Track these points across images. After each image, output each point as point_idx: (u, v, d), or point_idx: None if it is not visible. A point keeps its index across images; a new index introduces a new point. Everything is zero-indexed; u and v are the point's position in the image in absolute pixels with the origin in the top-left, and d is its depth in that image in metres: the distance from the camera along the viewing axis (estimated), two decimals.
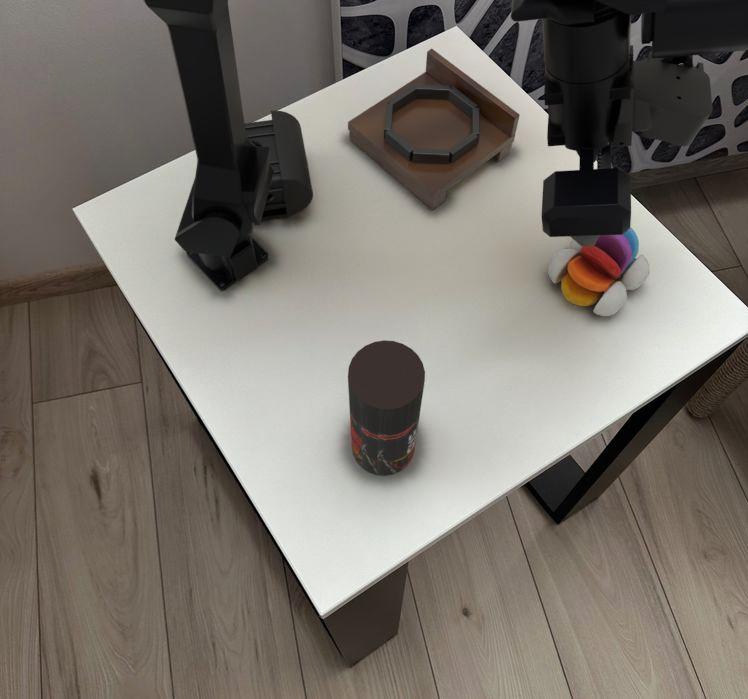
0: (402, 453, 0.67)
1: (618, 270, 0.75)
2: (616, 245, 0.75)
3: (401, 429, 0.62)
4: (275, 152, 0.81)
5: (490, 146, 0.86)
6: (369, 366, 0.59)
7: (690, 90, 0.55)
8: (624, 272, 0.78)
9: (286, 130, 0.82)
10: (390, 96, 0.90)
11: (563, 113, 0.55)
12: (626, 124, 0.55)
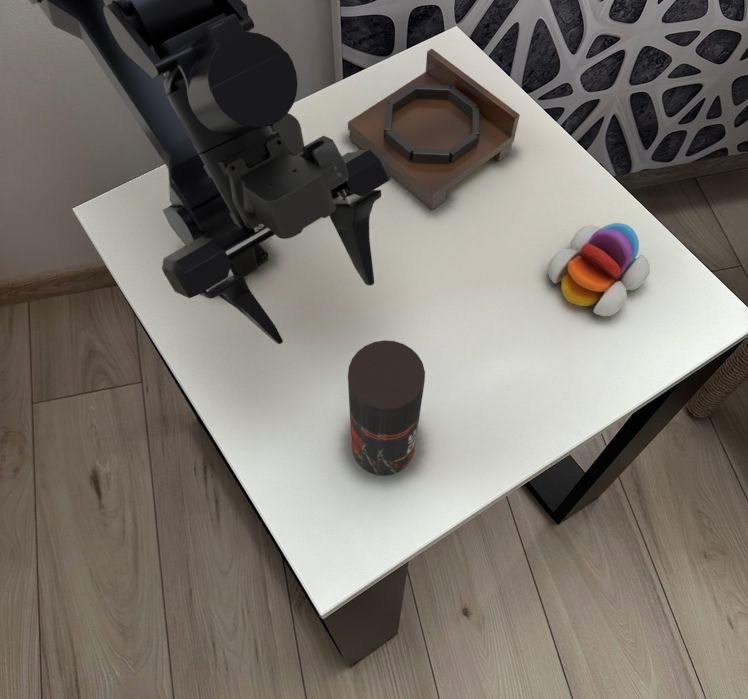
0: (402, 453, 0.67)
1: (618, 270, 0.75)
2: (616, 245, 0.75)
3: (401, 429, 0.62)
4: None
5: (490, 146, 0.86)
6: (369, 366, 0.59)
7: (288, 181, 0.53)
8: (624, 272, 0.78)
9: (286, 130, 0.82)
10: (390, 96, 0.90)
11: None
12: (236, 202, 0.56)
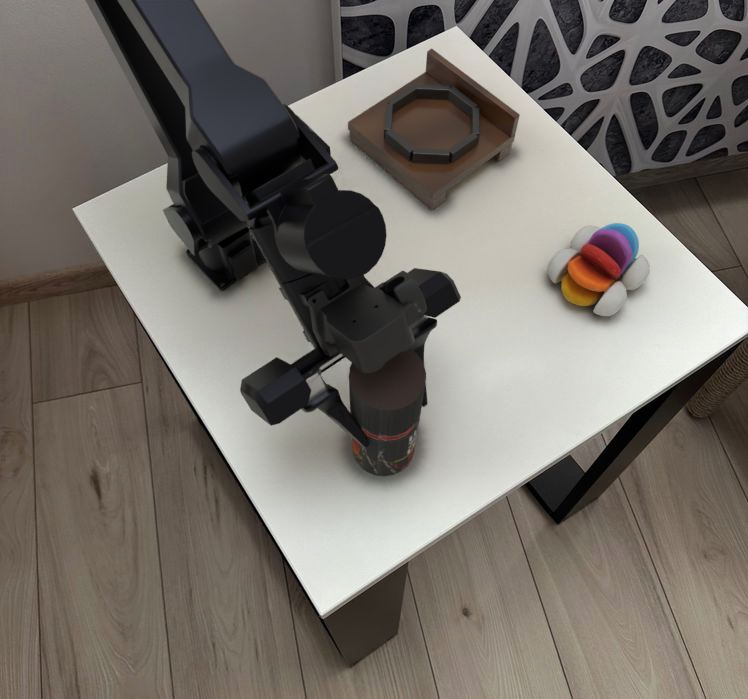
0: (402, 454, 0.67)
1: (618, 270, 0.75)
2: (616, 245, 0.75)
3: (402, 430, 0.62)
4: None
5: (490, 146, 0.86)
6: None
7: (370, 319, 0.54)
8: (624, 272, 0.78)
9: None
10: (390, 96, 0.90)
11: None
12: (316, 332, 0.58)
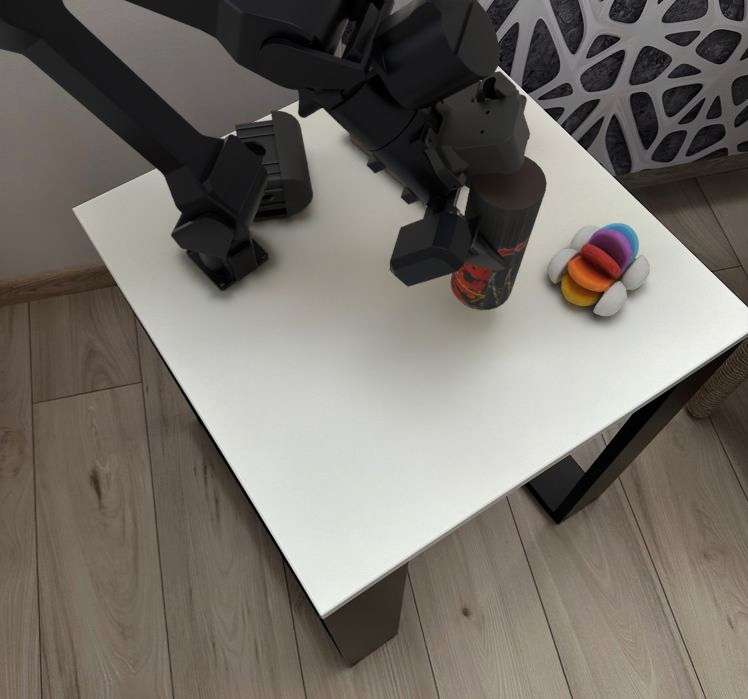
0: (519, 266, 0.70)
1: (618, 270, 0.75)
2: (616, 245, 0.75)
3: (531, 230, 0.64)
4: (275, 152, 0.81)
5: None
6: (491, 182, 0.61)
7: (495, 121, 0.56)
8: (624, 272, 0.78)
9: (286, 130, 0.82)
10: None
11: (394, 175, 0.60)
12: (442, 170, 0.58)
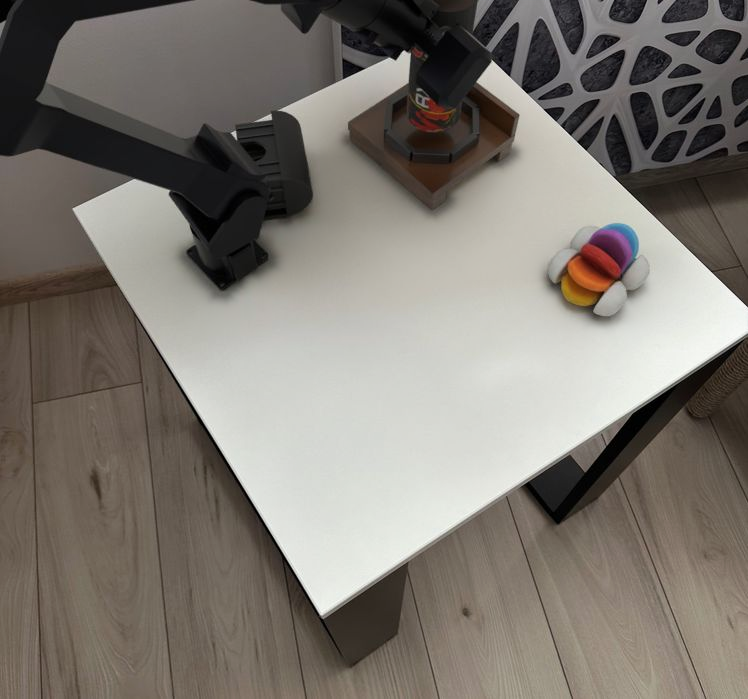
0: None
1: (618, 270, 0.75)
2: (616, 245, 0.75)
3: None
4: (275, 152, 0.81)
5: (490, 146, 0.86)
6: None
7: None
8: (624, 272, 0.78)
9: (286, 130, 0.82)
10: (390, 96, 0.90)
11: (384, 37, 0.68)
12: (424, 2, 0.67)
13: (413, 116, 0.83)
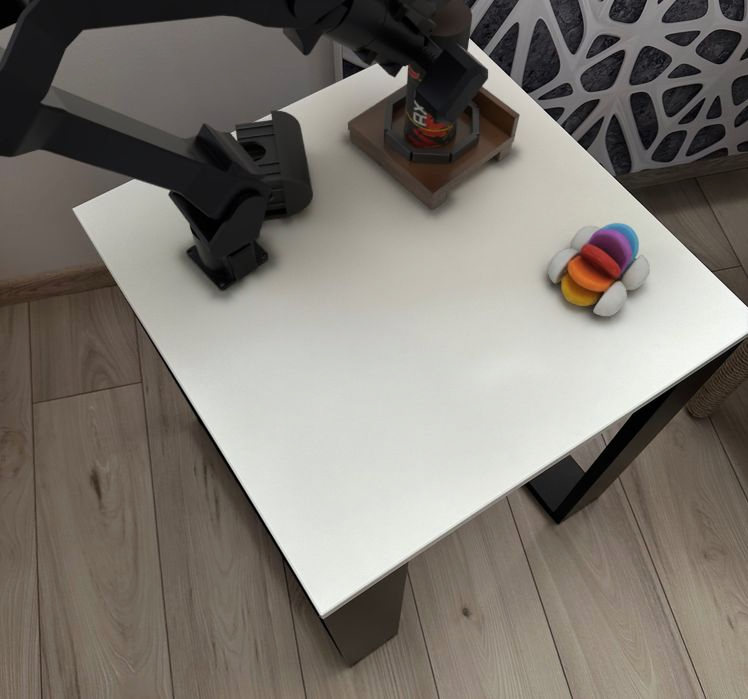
0: None
1: (618, 270, 0.75)
2: (616, 245, 0.75)
3: None
4: (275, 152, 0.81)
5: (490, 146, 0.86)
6: None
7: None
8: (624, 272, 0.78)
9: (286, 130, 0.82)
10: (390, 96, 0.90)
11: (383, 56, 0.70)
12: (421, 21, 0.69)
13: (411, 133, 0.85)
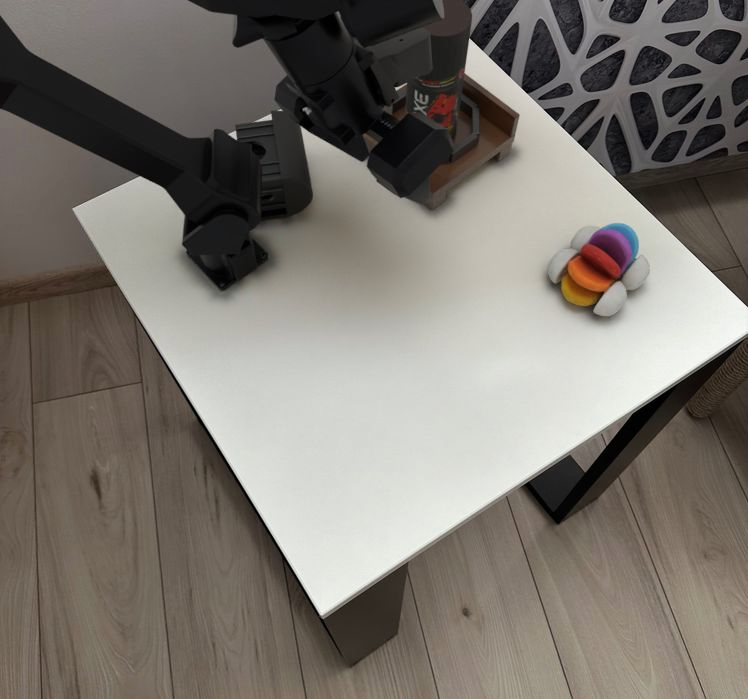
0: None
1: (618, 270, 0.75)
2: (616, 245, 0.75)
3: None
4: (275, 152, 0.81)
5: (490, 146, 0.86)
6: (435, 24, 0.73)
7: None
8: (624, 272, 0.78)
9: (286, 130, 0.82)
10: None
11: (339, 109, 0.61)
12: (386, 82, 0.61)
13: None
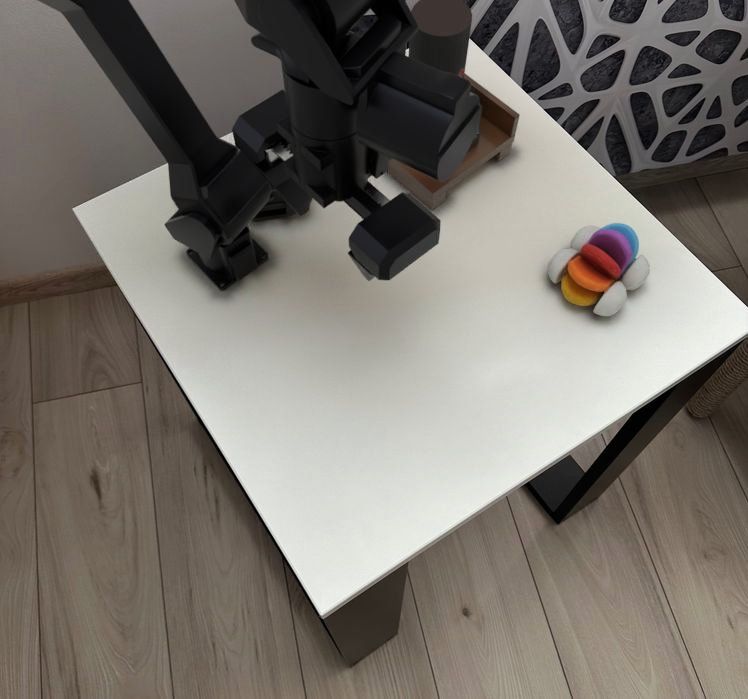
0: None
1: (618, 270, 0.75)
2: (616, 245, 0.75)
3: None
4: None
5: (490, 146, 0.86)
6: (435, 24, 0.73)
7: None
8: (624, 272, 0.78)
9: None
10: None
11: (334, 170, 0.55)
12: None
13: None
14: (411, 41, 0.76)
